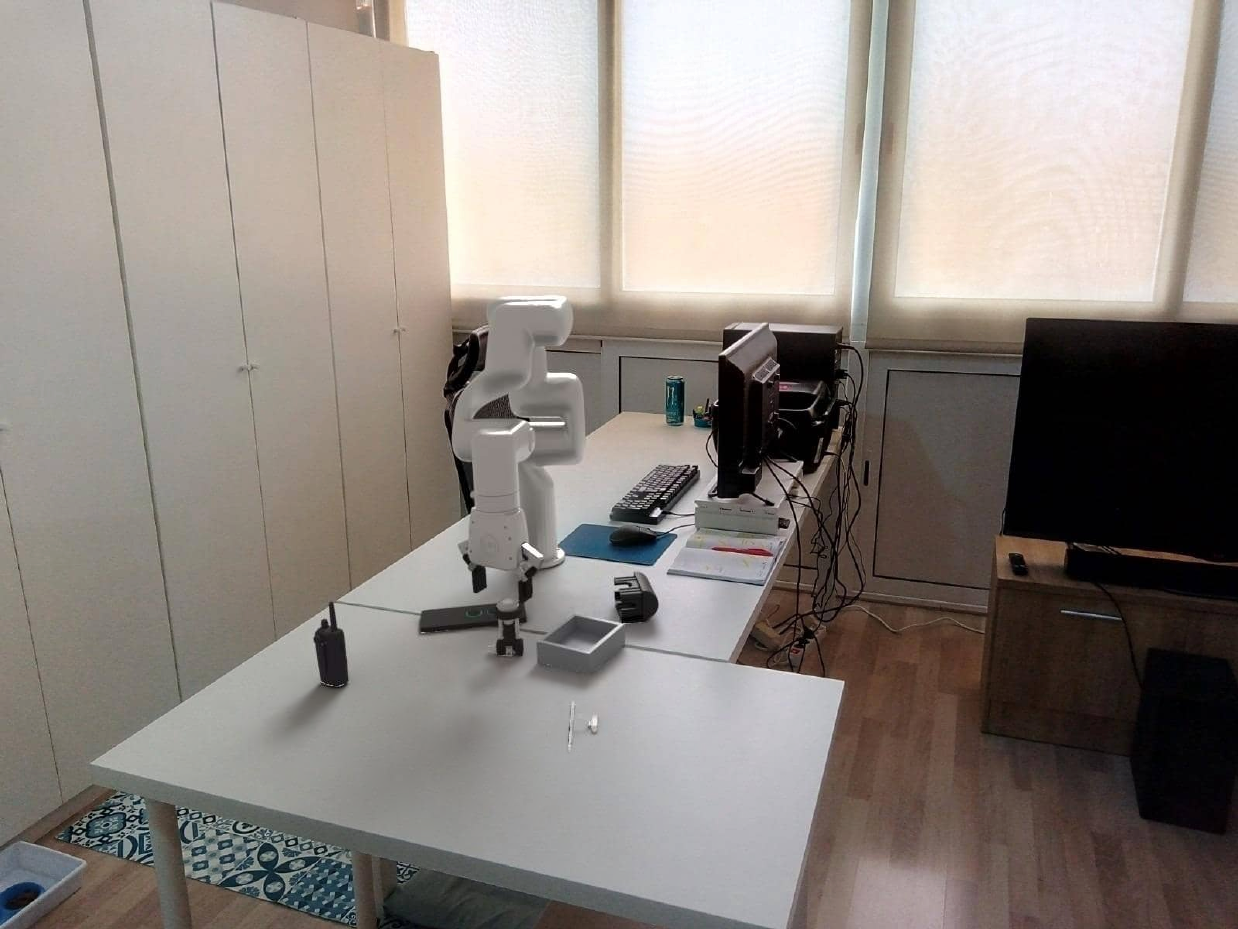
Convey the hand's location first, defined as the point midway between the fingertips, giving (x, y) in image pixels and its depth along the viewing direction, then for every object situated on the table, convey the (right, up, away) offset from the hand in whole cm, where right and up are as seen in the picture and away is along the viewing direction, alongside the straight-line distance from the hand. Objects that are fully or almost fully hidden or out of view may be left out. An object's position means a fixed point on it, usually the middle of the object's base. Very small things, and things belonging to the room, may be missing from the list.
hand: (502, 595), depth 155 cm
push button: (0, -11, +4) cm, 12 cm away
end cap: (+24, -6, +19) cm, 31 cm away
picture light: (+15, -18, -19) cm, 30 cm away
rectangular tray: (+14, -11, +3) cm, 18 cm away
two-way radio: (-28, -14, -6) cm, 32 cm away
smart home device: (-8, -8, +18) cm, 21 cm away
